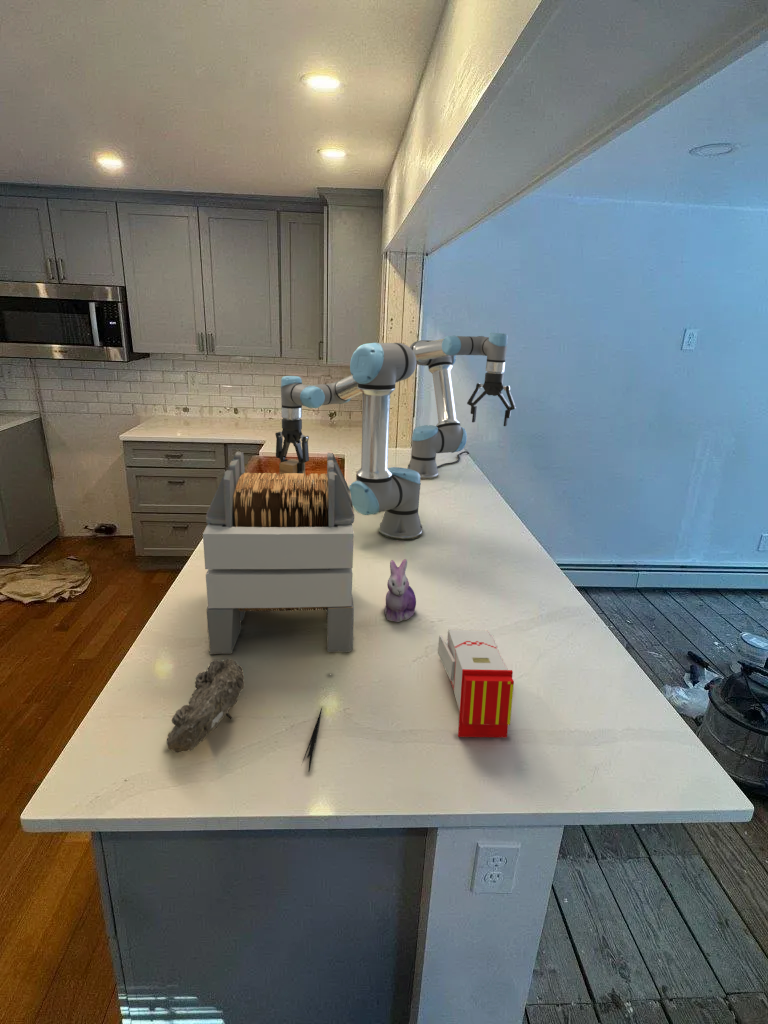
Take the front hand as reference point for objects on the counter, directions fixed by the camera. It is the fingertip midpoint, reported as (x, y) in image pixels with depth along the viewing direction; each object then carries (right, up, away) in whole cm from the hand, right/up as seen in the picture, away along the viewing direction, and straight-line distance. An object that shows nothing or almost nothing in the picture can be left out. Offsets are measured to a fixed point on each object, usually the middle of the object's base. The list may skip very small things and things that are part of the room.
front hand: (292, 477), depth 220 cm
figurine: (+40, -40, -73) cm, 92 cm away
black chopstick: (+23, -53, -112) cm, 126 cm away
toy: (+54, -51, -102) cm, 126 cm away
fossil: (+3, -53, -112) cm, 124 cm away
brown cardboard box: (0, -1, 0) cm, 1 cm away
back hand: (+80, +24, +19) cm, 86 cm away
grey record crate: (+11, -40, -77) cm, 87 cm away
